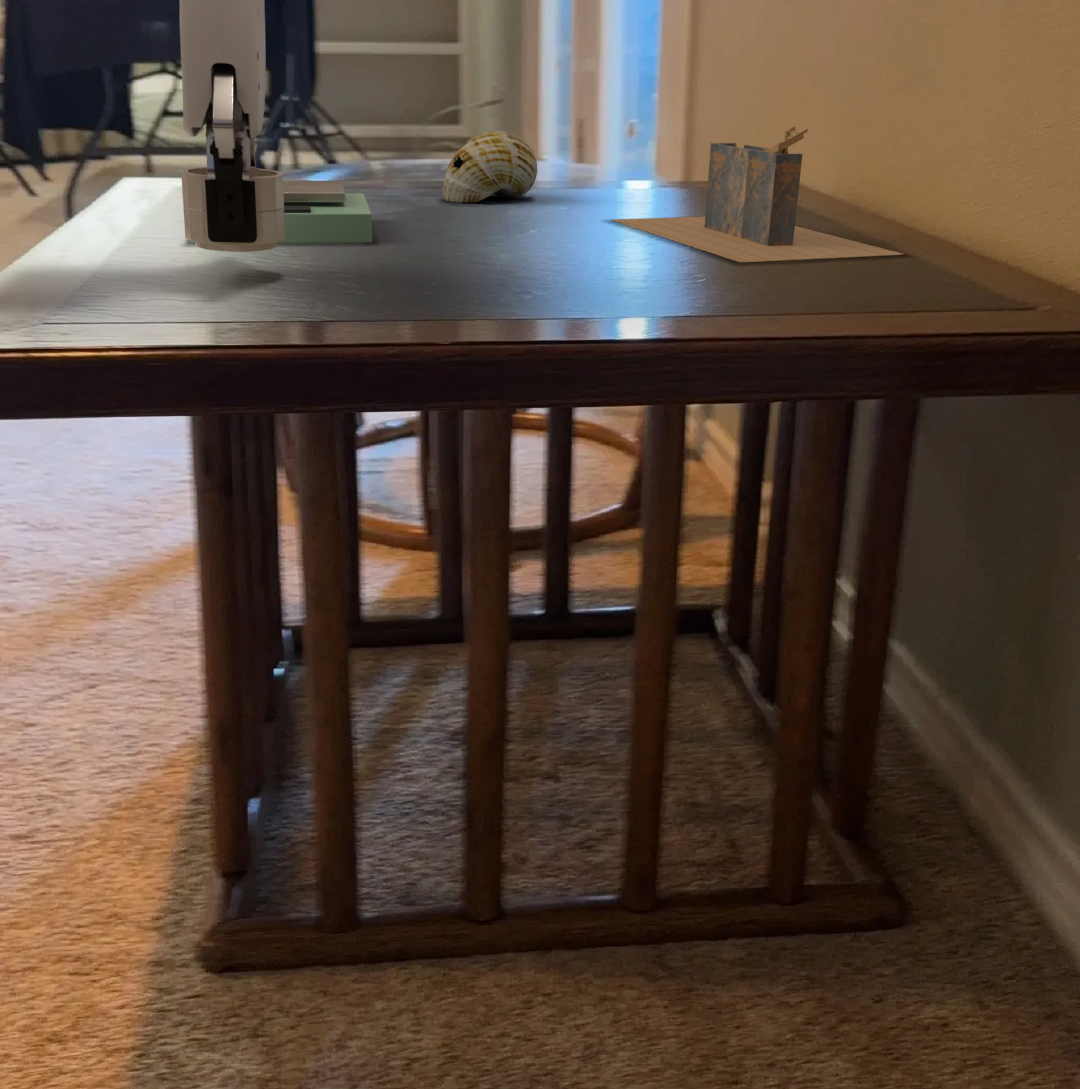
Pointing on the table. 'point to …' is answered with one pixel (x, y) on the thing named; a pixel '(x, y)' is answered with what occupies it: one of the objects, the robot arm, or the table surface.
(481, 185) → the seashell
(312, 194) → the pan
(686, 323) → the table surface
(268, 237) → the bowl
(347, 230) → the scale
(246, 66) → the robot arm
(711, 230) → the ruin model on sheet
